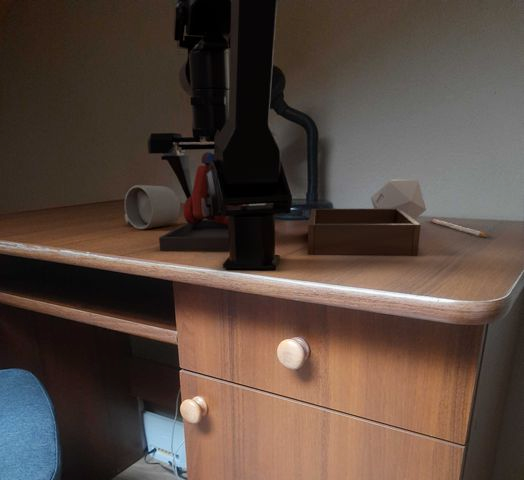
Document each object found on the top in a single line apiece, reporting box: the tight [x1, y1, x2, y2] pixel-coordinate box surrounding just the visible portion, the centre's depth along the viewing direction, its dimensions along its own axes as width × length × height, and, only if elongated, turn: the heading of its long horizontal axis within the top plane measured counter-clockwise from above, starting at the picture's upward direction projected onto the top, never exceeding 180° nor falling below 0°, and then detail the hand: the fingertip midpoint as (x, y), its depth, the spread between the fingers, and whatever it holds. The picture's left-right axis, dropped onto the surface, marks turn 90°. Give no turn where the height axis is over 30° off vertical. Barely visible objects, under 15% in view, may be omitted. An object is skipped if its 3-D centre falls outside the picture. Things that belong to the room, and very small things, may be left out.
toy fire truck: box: [183, 151, 250, 226], centre depth 76 cm, size 7×12×10 cm, turn 155°
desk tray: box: [158, 219, 229, 252], centre depth 79 cm, size 19×13×2 cm
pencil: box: [430, 218, 488, 238], centre depth 86 cm, size 1×19×1 cm, turn 7°
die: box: [370, 178, 427, 221], centre depth 88 cm, size 8×9×10 cm
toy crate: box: [307, 208, 422, 256], centre depth 74 cm, size 19×15×4 cm
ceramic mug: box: [124, 184, 182, 231], centre depth 93 cm, size 11×8×8 cm
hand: (216, 203), depth 77 cm, fingers closed on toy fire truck, 8 cm apart
